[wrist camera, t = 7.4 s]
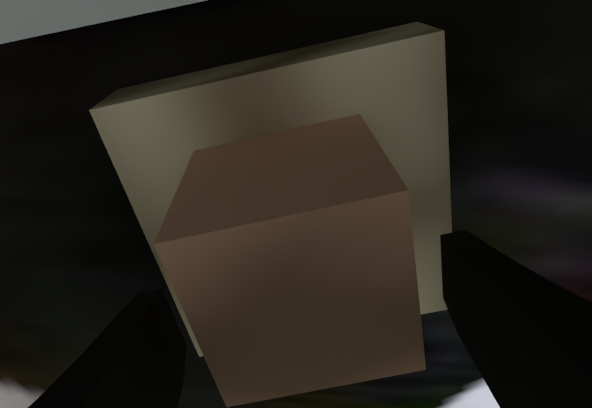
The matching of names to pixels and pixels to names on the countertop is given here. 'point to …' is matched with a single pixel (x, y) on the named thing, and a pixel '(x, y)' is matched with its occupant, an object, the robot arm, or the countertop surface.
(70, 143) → the countertop surface
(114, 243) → the countertop surface
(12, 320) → the countertop surface
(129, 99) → the olive block
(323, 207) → the terracotta cube
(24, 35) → the grey block
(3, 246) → the countertop surface
